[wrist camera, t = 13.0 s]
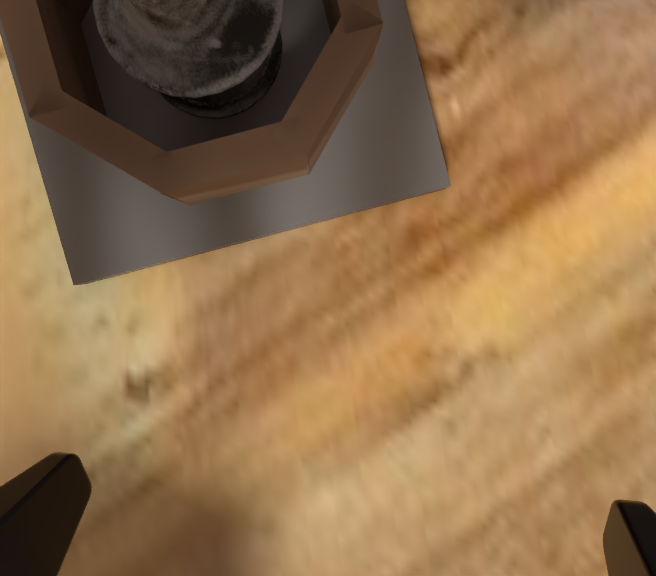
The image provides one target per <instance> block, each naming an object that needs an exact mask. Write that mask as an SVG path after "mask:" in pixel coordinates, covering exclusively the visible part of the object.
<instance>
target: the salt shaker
mask: <svg viewBox="0 0 656 576" xmlns="http://www.w3.org/2000/svg"><path fill="white" fill-rule="evenodd" d="M93 10H94V15H95V19H96V24H97V29H98V32H99V34H100V36H101V38H102V40H103V42H104V44H105V46H106V48H107V50H108V52H109V54H110V55H111V56H112V57H113V58H114V59H115V60H116V62H117V63H118V64H119V65H120V66H121V67H122V68H123V70H124V71H125V72H126V73H127V74H128V75H130V76H131V77H133V78H134V79H136V80H137V81H139V82H140V83H142V84H143V85H145V86H146V87H148V88H150V89H153V90H156V91H158V92H159V93H160V94H161V95H162V96H163V97H164V99H165V100H166V101H168V102H169V103H170V104H172V105H173V106H175V107H176V108H178V109H179V110H181V111H183V112H185V113H188V114H191V115H194V116H197V117H201V118H215V119H218V118H224V117H229V116H234V115H237V114H239V113H241V112H243V111H245V110H247V109H249V108H251V107H252V106H253V105H255V104H256V103H257V102H258V101H259V100H260V99H261V98H263V97H264V96H265V95H266V93H267V92H268V90H269V89H270V87H271V86H272V84H273V83H274V81H275V79H276V76H277V73H278V70H279V67H280V64H281V57H282V39H281V34H280V26H281V23H282V13H283V0H93Z"/></svg>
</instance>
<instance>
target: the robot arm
mask: <svg viewBox="0 0 656 576" xmlns="http://www.w3.org/2000/svg"><path fill="white" fill-rule="evenodd" d="M90 494H91V482H90V480H89V478H88V475H87V473H86V471H85V469H84V467H83V465H82V462H81V460H80V458H79V457H78V456H77V455H76V454H73V453H61V452H57V453H53V454H50V455H49V456H47V457H46V458H44V459H42V460H41V461H39V462H38V463H36V464H35V465H33V466H32V467H30V468H29V469H27V470H25V471H24V472H22V473H21V474H19V475H18V476H16V477H15V478H13V479H12V480H10V481H9V482H7V483H5V484H4V485H2V486H1V487H0V576H57V574H58V572H59V570H60V568H61V565H62V563H63V561H64V558H65V556H66V553H67V551H68V549H69V546H70V544H71V541H72V539H73V537H74V534H75V532H76V529H77V527H78V525H79V522H80V520H81V517H82V515H83V513H84V510H85V508H86V505H87V503H88V501H89V498H90ZM603 548H604V554H605V559H606V564H607V570H608V575H609V576H656V513H655V512H654V511H653V510H652V509H651V508H650V507H649V506H648V505H647V504H645V503H643V502H640V501H629V500H615V501H614V502H613V503H612V505H611V508H610V512H609V515H608V519H607V522H606V526H605V529H604V533H603Z"/></svg>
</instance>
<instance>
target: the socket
mask: <svg viewBox="0 0 656 576" xmlns="http://www.w3.org/2000/svg"><path fill="white" fill-rule="evenodd" d="M0 34H1V37H2V41H3V44H4V48H5V51H6V55H7V58H8V61H9V65H10V68H11V72H12V75H13V79H14V82H15V85H16V89H17V92H18V96H19V99H20V103H21V106H22V109H23V113H24V116H25V120H26V123H27V127H28V130H29V134H30V137H31V140H32V144H33V147H34V151H35V154H36V158H37V161H38V164H39V168H40V171H41V175H42V178H43V182H44V185H45V188H46V192H47V195H48V199H49V202H50V206H51V209H52V212H53V216H54V219H55V223H56V226H57V230H58V233H59V236H60V240H61V243H62V247H63V250H64V254H65V257H66V261H67V264H68V267H69V271H70V274H71V278H72V281H73V285H81V284H88V283H92V282H95V281H99V280H103V279H107V278H110V277H114V276H118V275H122V274H126V273H129V272H133V271H137V270H141V269H144V268H148V267H152V266H156V265H160V264H163V263H167V262H171V261H175V260H178V259H182V258H186V257H190V256H194V255H197V254H201V253H205V252H209V251H212V250H216V249H220V248H224V247H228V246H231V245H235V244H239V243H243V242H246V241H250V240H254V239H258V238H262V237H265V236H269V235H273V234H277V233H280V232H284V231H288V230H292V229H296V228H299V227H303V226H307V225H311V224H314V223H318V222H322V221H326V220H330V219H333V218H337V217H341V216H345V215H348V214H352V213H356V212H360V211H364V210H367V209H371V208H375V207H379V206H382V205H386V204H390V203H394V202H398V201H401V200H405V199H409V198H413V197H416V196H420V195H424V194H428V193H432V192H435V191H439V190H443V189H445V188H447V187H449V186H450V181H449V177H448V173H447V169H446V165H445V161H444V157H443V153H442V149H441V145H440V141H439V137H438V133H437V129H436V125H435V121H434V117H433V113H432V109H431V105H430V101H429V97H428V93H427V89H426V85H425V81H424V77H423V73H422V69H421V65H420V61H419V57H418V53H417V49H416V45H415V41H414V36H413V32H412V28H411V24H410V20H409V16H408V12H407V8H406V4H405V0H283V13H282V23H281V26H280V34H281V39H282V57H281V64H280V67H279V70H278V73H277V76H276V79H275V81H274V83H273V84H272V86H271V87H270V89H269V90H268V92H267V93H266V95H265V96H264V97H263V98H261V99H260V100H259V101H258V102H257V103H256V104H255V105H253V106H252V107H251V108H249V109H247V110H245V111H243V112H241V113H239V114H237V115H234V116H229V117H224V118H218V119H215V118H201V117H197V116H194V115H191V114H188V113H185V112H183V111H181V110H179V109H178V108H176V107H175V106H173V105H172V104H170V103H169V102H168V101H166V100H165V99H164V97H163V96H162V95H161V94H160V93H159V92H158V91H156V90H153V89H150V88H148V87H146V86H145V85H143V84H142V83H140V82H139V81H137V80H136V79H134V78H133V77H131V76H130V75H128V74H127V73H126V72H125V71H124V70H123V68H122V67H121V66H120V65H119V64H118V63H117V62H116V60H115V59H114V58H113V57H112V56H111V55H110V54H109V52H108V50H107V48H106V46H105V44H104V42H103V40H102V38H101V36H100V34H99V32H98V29H97V24H96V19H95V15H94V10H93V0H0Z"/></svg>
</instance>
